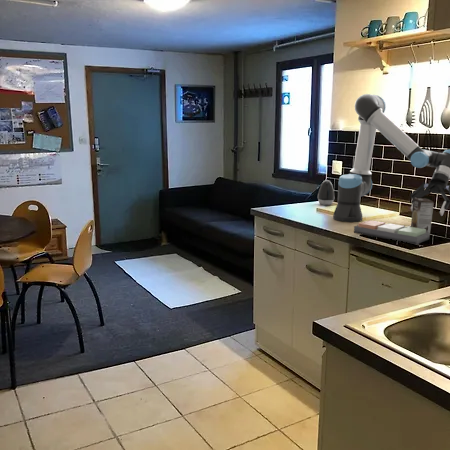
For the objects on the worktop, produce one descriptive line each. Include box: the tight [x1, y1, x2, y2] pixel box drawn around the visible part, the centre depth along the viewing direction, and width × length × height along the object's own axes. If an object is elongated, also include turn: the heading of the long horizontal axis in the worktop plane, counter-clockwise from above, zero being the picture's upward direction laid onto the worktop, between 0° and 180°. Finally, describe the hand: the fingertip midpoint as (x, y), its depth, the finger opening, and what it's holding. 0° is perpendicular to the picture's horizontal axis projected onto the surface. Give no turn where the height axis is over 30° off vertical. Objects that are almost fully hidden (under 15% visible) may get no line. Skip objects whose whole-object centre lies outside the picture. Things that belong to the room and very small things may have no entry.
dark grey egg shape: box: [317, 179, 335, 206], centre depth 303 cm, size 10×10×15 cm
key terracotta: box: [357, 219, 386, 229], centre depth 230 cm, size 8×11×2 cm
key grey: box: [377, 223, 406, 233], centre depth 224 cm, size 8×11×2 cm
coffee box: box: [410, 197, 435, 234], centre depth 229 cm, size 9×6×16 cm
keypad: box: [353, 224, 431, 245], centre depth 224 cm, size 30×14×3 cm, turn 46°
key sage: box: [398, 226, 426, 237], centre depth 217 cm, size 8×11×2 cm
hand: (426, 211), depth 229 cm, fingers open, 13 cm apart
